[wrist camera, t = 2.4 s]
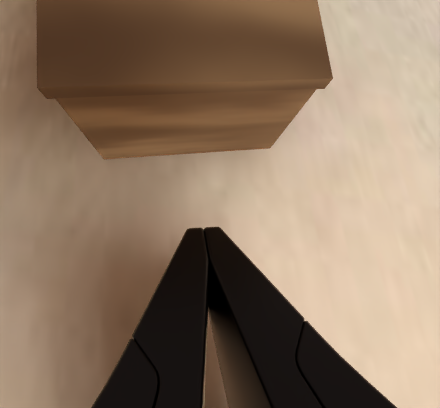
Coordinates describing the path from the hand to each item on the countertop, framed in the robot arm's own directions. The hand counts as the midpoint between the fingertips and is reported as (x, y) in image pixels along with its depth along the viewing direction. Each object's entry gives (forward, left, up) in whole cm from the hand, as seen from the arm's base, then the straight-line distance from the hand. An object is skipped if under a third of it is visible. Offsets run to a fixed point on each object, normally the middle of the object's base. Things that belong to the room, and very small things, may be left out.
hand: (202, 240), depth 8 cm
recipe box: (+15, -3, -12) cm, 19 cm away
